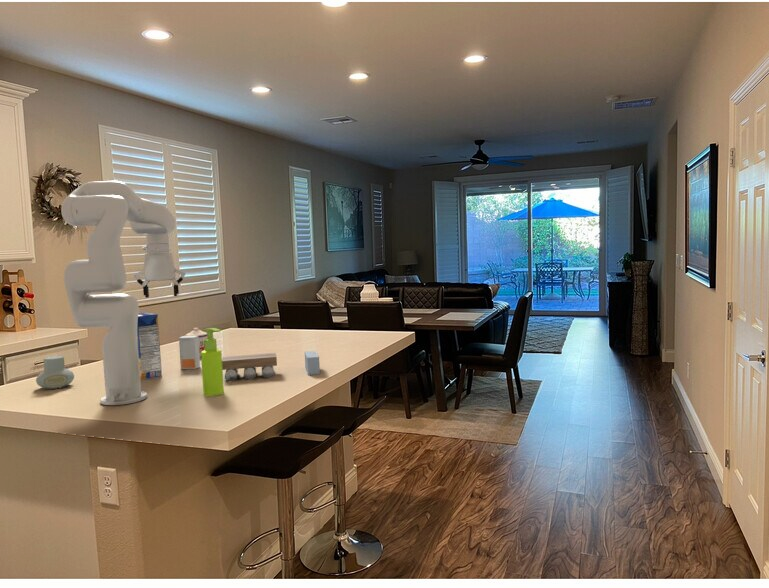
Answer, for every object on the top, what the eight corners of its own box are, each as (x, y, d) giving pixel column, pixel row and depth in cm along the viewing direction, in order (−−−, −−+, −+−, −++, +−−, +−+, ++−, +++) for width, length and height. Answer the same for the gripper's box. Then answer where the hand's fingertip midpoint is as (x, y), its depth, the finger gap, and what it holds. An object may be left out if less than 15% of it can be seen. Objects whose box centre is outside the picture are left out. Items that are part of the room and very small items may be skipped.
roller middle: (255, 380, 187) (256, 368, 186) (243, 380, 186) (243, 368, 186) (255, 373, 197) (256, 362, 197) (244, 373, 197) (244, 362, 196)
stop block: (319, 374, 191) (319, 356, 190) (308, 375, 190) (307, 357, 190) (316, 367, 203) (315, 350, 202) (305, 368, 202) (304, 351, 201)
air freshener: (36, 392, 179) (34, 361, 179) (36, 387, 186) (34, 357, 186) (75, 386, 185) (73, 357, 184) (74, 382, 192) (71, 353, 191)
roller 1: (237, 381, 185) (237, 369, 185) (224, 382, 184) (224, 370, 184) (238, 374, 196) (238, 363, 196) (226, 375, 195) (226, 363, 195)
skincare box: (180, 369, 207) (178, 337, 206) (184, 367, 212) (182, 335, 211) (196, 369, 207) (194, 337, 206) (200, 366, 211) (198, 335, 210)
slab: (276, 365, 189) (276, 356, 189) (221, 369, 185) (221, 361, 185) (276, 361, 197) (275, 352, 197) (223, 365, 193) (222, 356, 193)
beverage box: (142, 379, 192) (137, 316, 190) (131, 375, 200) (127, 314, 199) (162, 376, 197) (157, 314, 195) (150, 371, 205) (146, 312, 203)
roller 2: (273, 378, 188) (274, 367, 188) (261, 378, 187) (262, 367, 187) (273, 372, 199) (273, 360, 198) (261, 372, 198) (261, 361, 198)
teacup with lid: (194, 358, 229) (192, 330, 228) (182, 356, 235) (180, 328, 234) (219, 353, 239) (217, 326, 238) (206, 351, 244) (205, 325, 243)
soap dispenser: (215, 397, 165) (210, 330, 163) (199, 394, 168) (195, 329, 167) (230, 392, 170) (226, 327, 168) (214, 390, 173) (210, 326, 172)
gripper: (130, 249, 194) (133, 298, 196) (182, 248, 199) (185, 296, 200) (134, 250, 202) (137, 297, 203) (184, 248, 206) (187, 294, 207)
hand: (161, 296), depth 201 cm, fingers open, 9 cm apart
